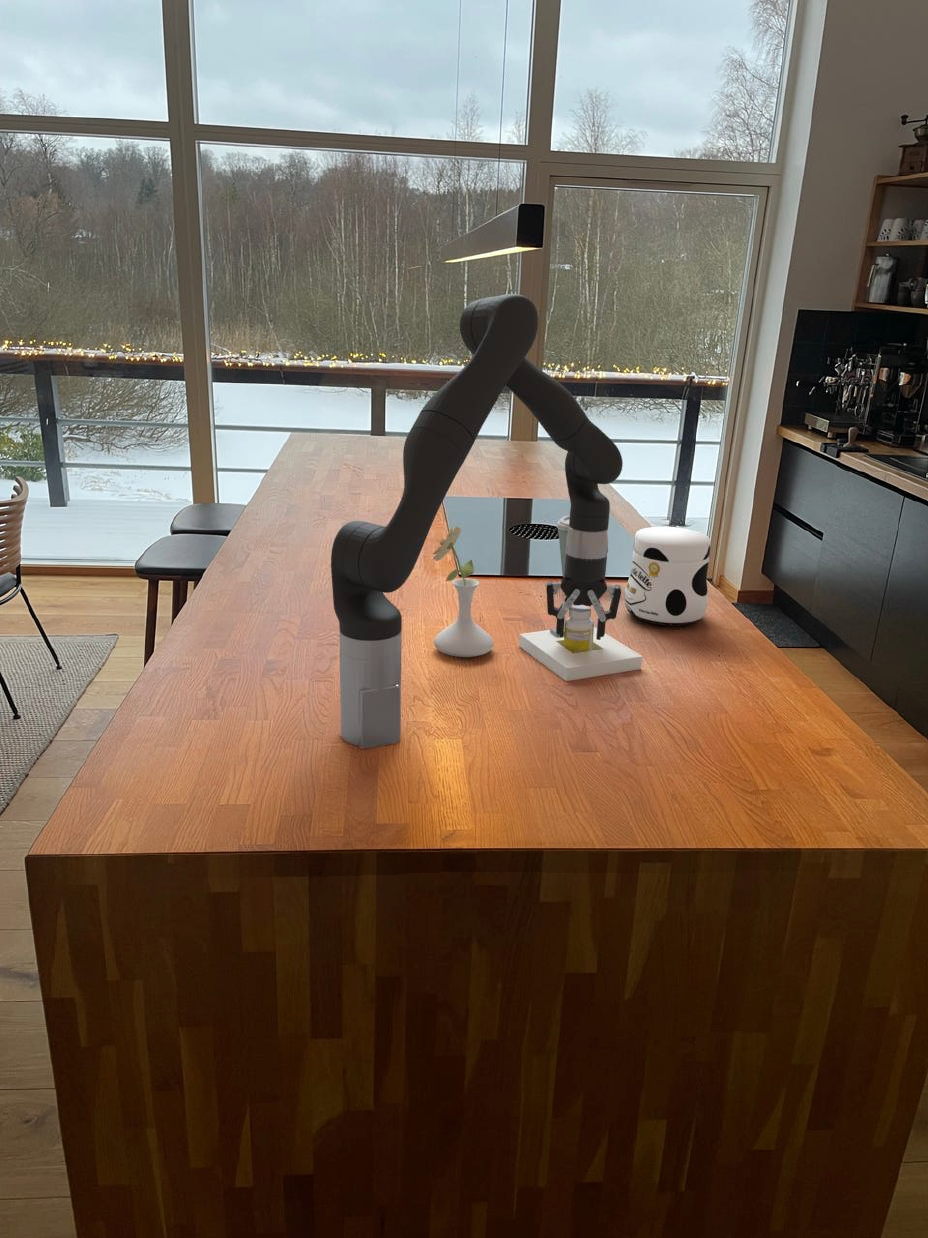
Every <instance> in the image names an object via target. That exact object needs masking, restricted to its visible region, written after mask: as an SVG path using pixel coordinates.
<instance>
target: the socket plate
mask: <svg viewBox="0 0 928 1238" xmlns="http://www.w3.org/2000/svg"><path fill="white" fill-rule="evenodd" d="M564 633H565V626H564ZM596 633H597V626H596V627H595V626H594V633H593V650H592V651H586V652H579V653H572V652H571V651H569V650H568V649H566V648H565V647H564V634H563V638H560V634H557V633H556V627H553V628H552V627H551V628H550V629H547V630H540V631H539V630H538V631H532V632H525V633H519V637H518V638H519V639H518V640H519V641H518V647H520V648H521V649H522V650H524V651H525V652H526V653H527V654H529V655H530V656H531V657H533V658H534V659H536V661H537V662H540V663H541V664H542V665H543V666H545V668H548V669H549V670H550V671H552V672H553V673H554V674H556V675H557V676H558V677H559V678H561V679H562V680H563V681H565V682H569V681H576V680H583V679H589V678H593V677H594V678H595V677H599V676H606V675H612V674H618V673H625V672H631V671H637V670H641V669H642V663H643V656H642V655H641V654H639V653H637V652H636V651H634V650H633V649H631V648H629V647H628V646H626V645H625V644H623V643H622V642H620V641H618V640H617V639H615V638H613V637H612V636H610V635H609V634H607V633H605V635H604V637H601V639H600V640H597V639H596Z"/></svg>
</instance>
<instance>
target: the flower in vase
mask: <svg viewBox="0 0 928 1238" xmlns="http://www.w3.org/2000/svg"><path fill="white" fill-rule="evenodd" d="M461 531H462V528H461V527H460V526H459V525H456V526H455V527H454V529H453V527H451V528H450V529H449V530H448V533H447V534H446V538H442V539H441V540H440V541H439V545H440V546H438V547H436V548H437V549H435V550H434V552H433V553H432V555H434V556H433V558H432V561H436V562H438V561H441V560H442V559H443V558H444V557H445V556H446V555H447V554H449V552H450V551H453V554H454V557H455V560H456V561H457V565H458V569H457V568H456V569H454V570H452V571H451V572H449V574H448V575H447V577H446V580H445V582H450V581H452V585H453V586H454V589H456V593H457V595H458V614H457V618H456V620H454V622H452V623H451V624H450V625H447V627H445V628H444V629H442V630H441V631H440V632H439V633H438V634H437V635H436V636H435V638H434V640H433V644H434V645H433V646H434V647H435V648H436V649H437V651H439V652H441V653H443V654H445V655H448V656H451V657H458V658H473V657H477V656H482V655H485V654H487V653H489V652H490V651H492V649H493V647H494V646H495V643H494V641H493V638H492V636H491V635H489V633H488V632H487V631H485V630H484V629H483V628H482V627H481V626H479V625H478V624H477V623H476V622H475V621H474V620H473V618H472V610H471V609H472V601H473V595H474V593H475V591H476V589H477V587H478V586H480V581H478V580H477V579H474V578H467V577H469V576H471V575H473V574H474V572H475V568H474V564H473V560H472V559H470V560H468V561H467V562H466V563H464V564H463V565H462V566H461V562H460V560H459V556H458V554H457V552H456V550H455V547H454V545H455V544H456V543H457V541H458V538H459V537H460V533H461ZM459 573H460V575H461V578H456V577H458V574H459ZM455 578H456V579H455Z"/></svg>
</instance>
